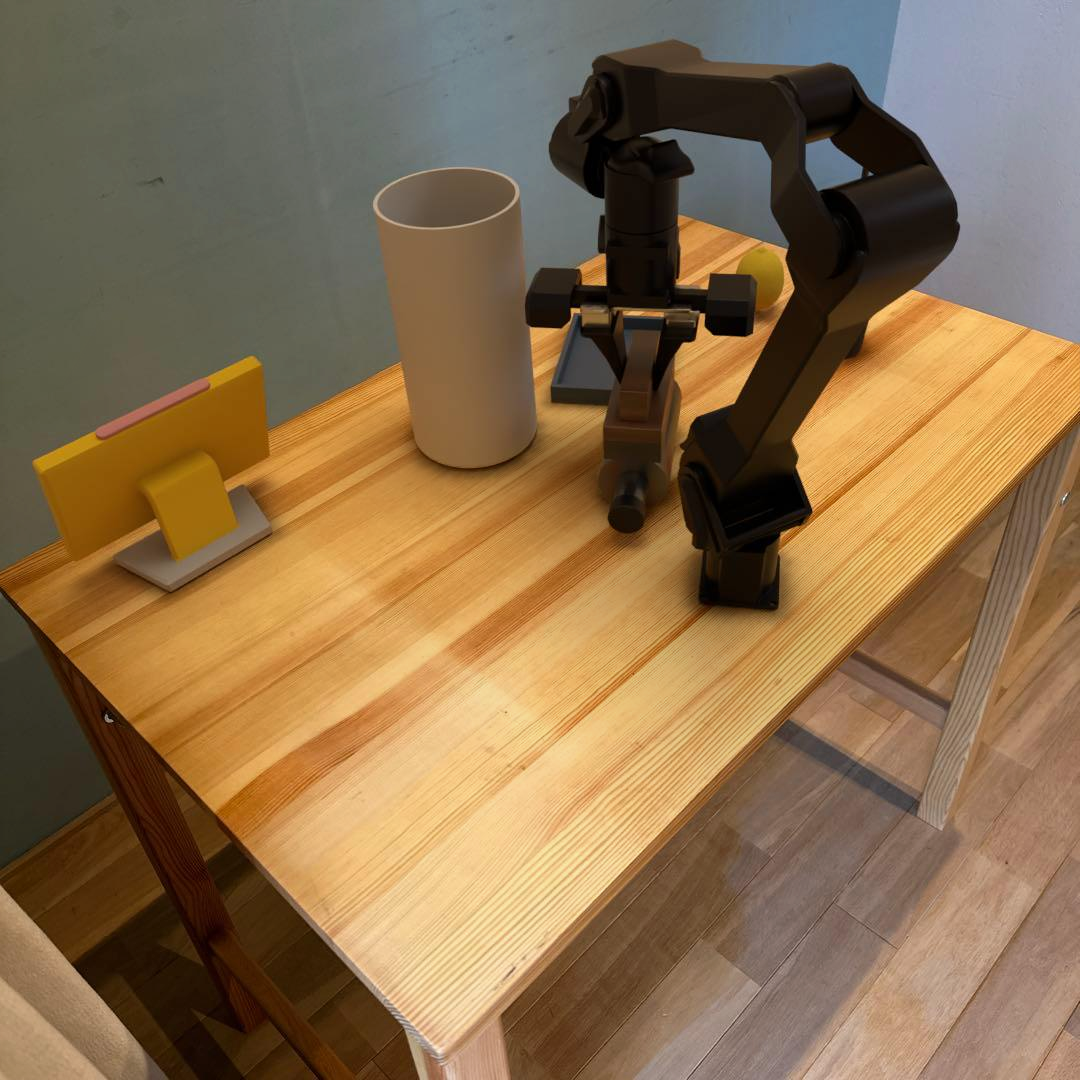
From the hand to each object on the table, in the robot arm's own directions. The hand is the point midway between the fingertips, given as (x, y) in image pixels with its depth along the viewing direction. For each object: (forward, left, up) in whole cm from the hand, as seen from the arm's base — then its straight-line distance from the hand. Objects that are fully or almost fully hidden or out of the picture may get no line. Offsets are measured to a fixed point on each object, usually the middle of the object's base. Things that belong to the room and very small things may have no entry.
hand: (640, 387), depth 89 cm
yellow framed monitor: (-14, +39, -10) cm, 43 cm away
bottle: (-1, 0, -10) cm, 10 cm away
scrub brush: (0, 0, -4) cm, 4 cm away
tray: (+19, +5, -10) cm, 22 cm away
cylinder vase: (+5, +17, -10) cm, 21 cm away
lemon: (+32, -10, -10) cm, 35 cm away
